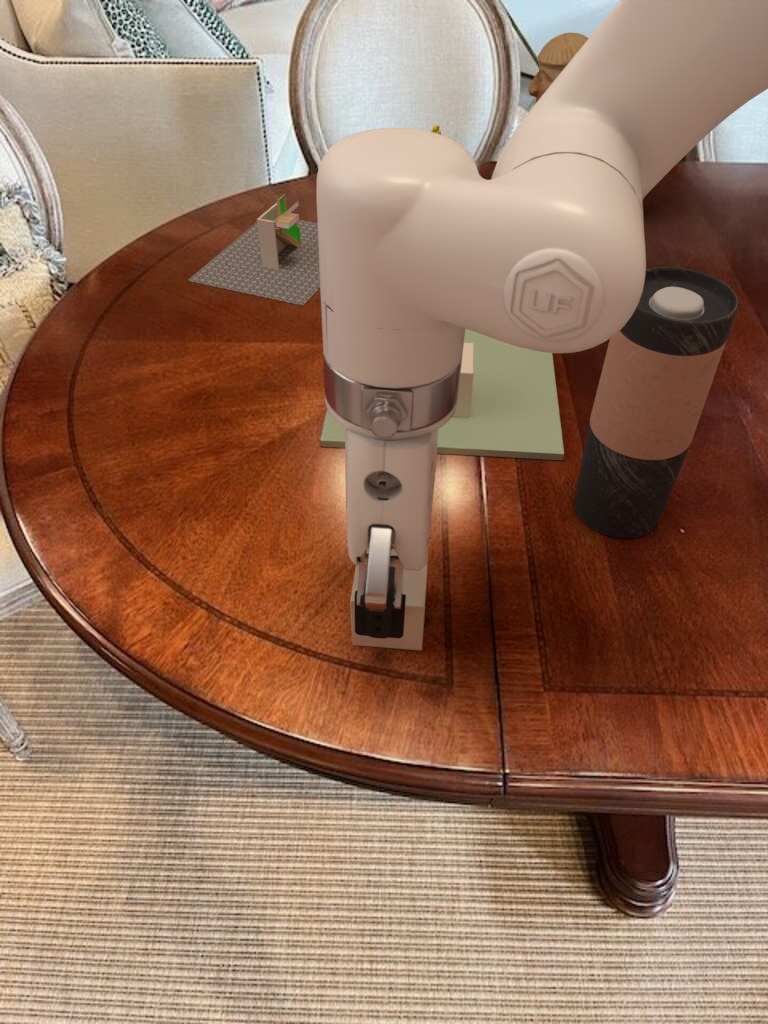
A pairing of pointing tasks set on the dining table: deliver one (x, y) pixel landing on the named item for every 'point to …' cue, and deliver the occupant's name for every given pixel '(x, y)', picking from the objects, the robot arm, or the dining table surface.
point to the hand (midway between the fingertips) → (385, 577)
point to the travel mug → (652, 399)
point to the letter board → (497, 407)
